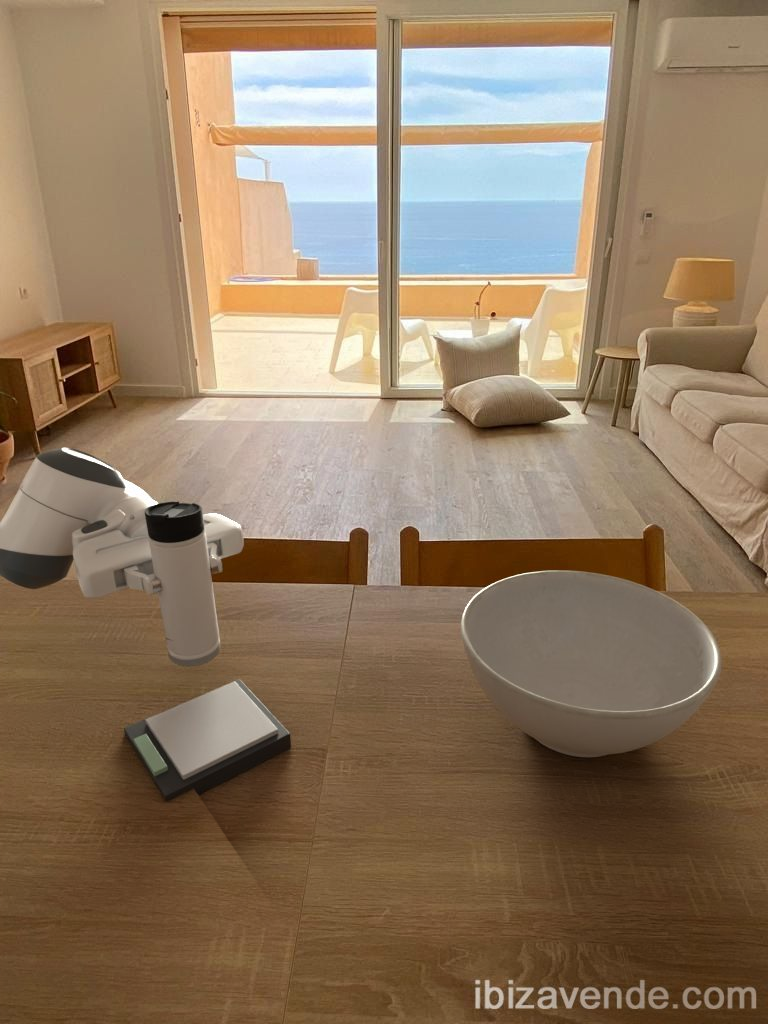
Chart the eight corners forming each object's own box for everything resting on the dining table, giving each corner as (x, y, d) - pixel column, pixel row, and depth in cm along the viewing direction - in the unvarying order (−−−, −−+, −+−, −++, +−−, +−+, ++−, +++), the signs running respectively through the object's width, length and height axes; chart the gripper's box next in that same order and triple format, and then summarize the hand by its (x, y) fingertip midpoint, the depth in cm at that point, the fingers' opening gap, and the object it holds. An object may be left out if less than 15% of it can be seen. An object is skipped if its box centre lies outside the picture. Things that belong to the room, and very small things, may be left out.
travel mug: (157, 665, 83) (130, 514, 75) (184, 634, 89) (161, 491, 81) (205, 672, 82) (182, 519, 74) (229, 641, 88) (211, 495, 79)
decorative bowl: (508, 628, 96) (513, 551, 91) (717, 691, 84) (737, 605, 79) (415, 749, 75) (417, 657, 70) (676, 856, 63) (699, 754, 58)
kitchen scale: (167, 811, 68) (164, 791, 67) (126, 742, 77) (122, 723, 76) (291, 747, 76) (290, 729, 75) (241, 691, 84) (239, 674, 83)
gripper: (220, 536, 97) (267, 574, 87) (67, 581, 86) (102, 631, 76) (215, 494, 95) (263, 529, 85) (57, 535, 84) (92, 581, 73)
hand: (186, 577), depth 80 cm, fingers closed on travel mug, 6 cm apart
